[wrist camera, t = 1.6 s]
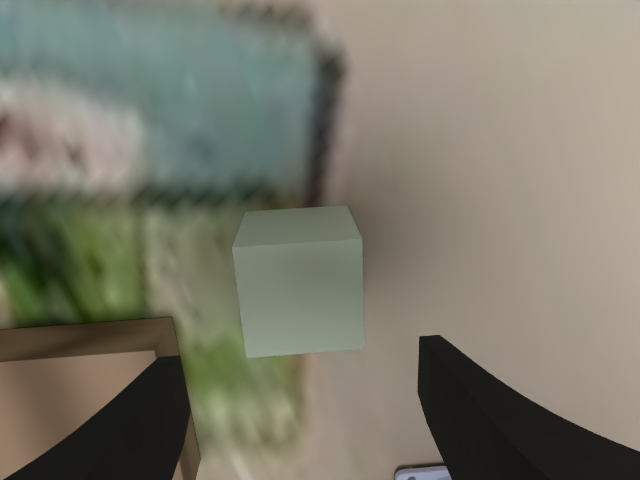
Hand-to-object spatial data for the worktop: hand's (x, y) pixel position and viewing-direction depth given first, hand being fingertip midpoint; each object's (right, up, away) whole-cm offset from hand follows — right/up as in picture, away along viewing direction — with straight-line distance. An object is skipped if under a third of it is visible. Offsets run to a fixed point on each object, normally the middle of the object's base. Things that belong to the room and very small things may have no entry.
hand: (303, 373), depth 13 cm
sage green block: (-1, +3, +9) cm, 10 cm away
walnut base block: (-12, -5, +11) cm, 17 cm away
